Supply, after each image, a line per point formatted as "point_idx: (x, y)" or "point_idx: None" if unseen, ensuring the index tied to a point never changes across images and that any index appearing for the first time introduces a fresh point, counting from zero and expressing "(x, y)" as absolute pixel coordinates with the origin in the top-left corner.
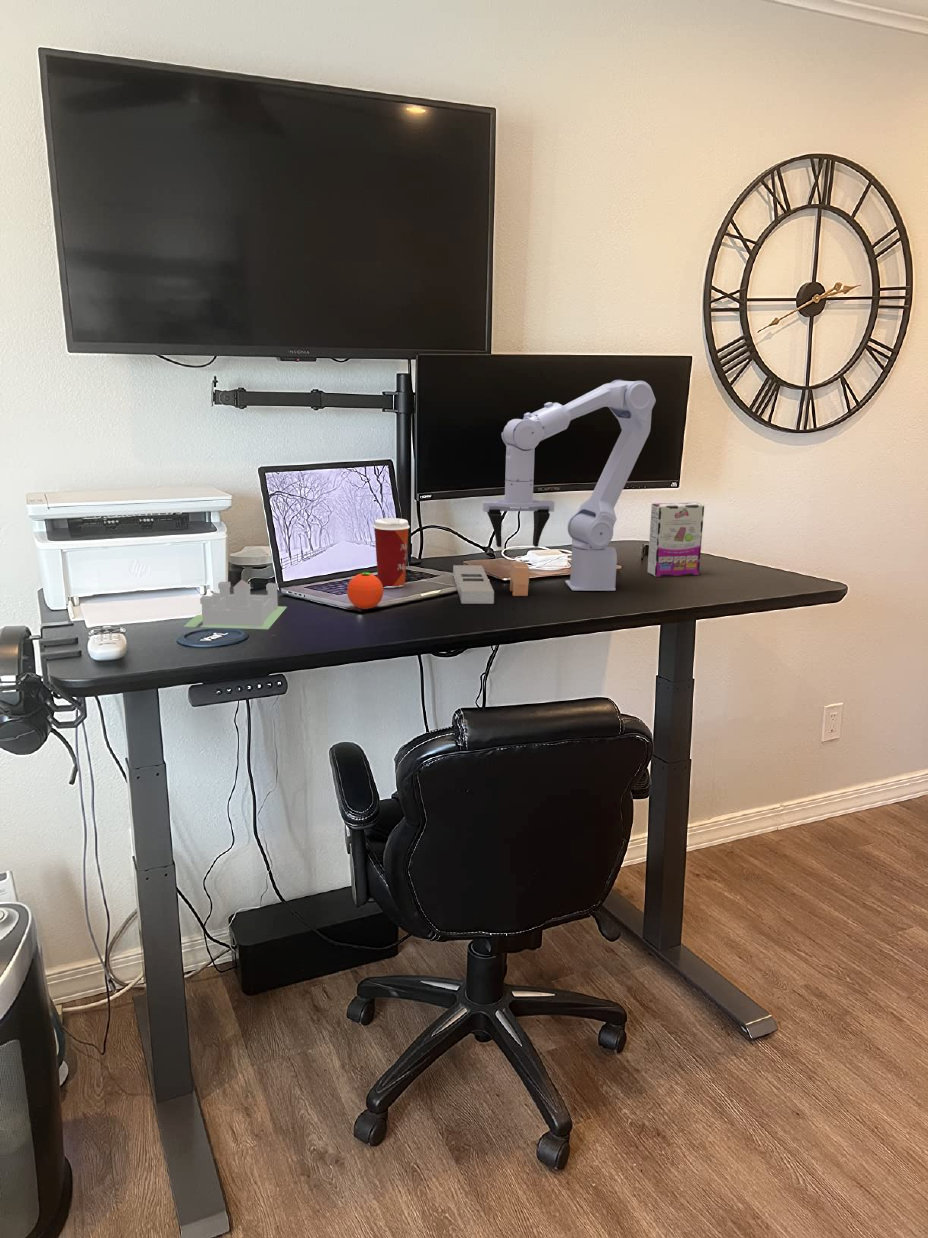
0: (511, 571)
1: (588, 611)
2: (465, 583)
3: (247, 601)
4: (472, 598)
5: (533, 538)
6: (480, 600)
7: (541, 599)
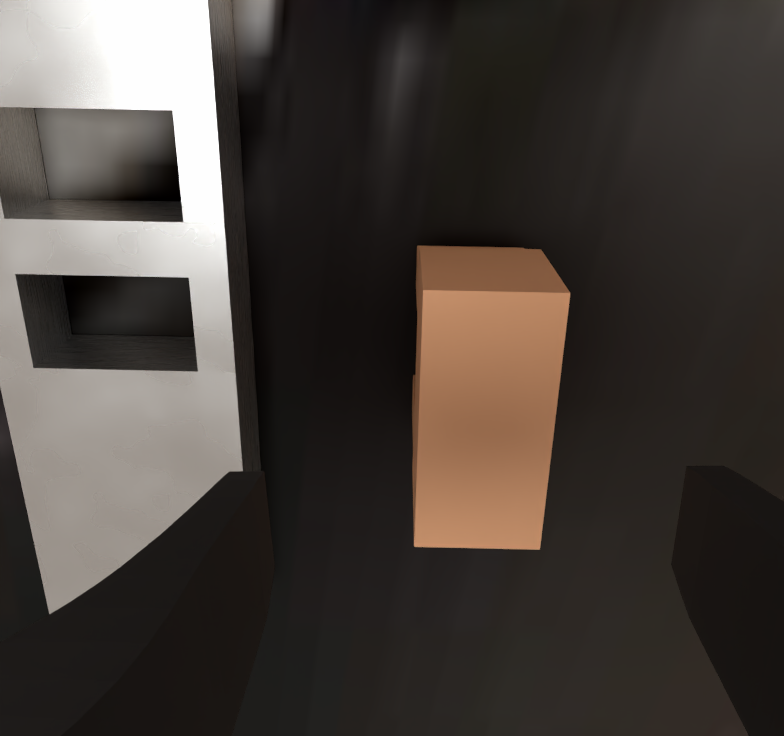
0: (418, 342)
1: None
2: (56, 432)
3: None
4: None
5: (718, 527)
6: None
7: (575, 491)
